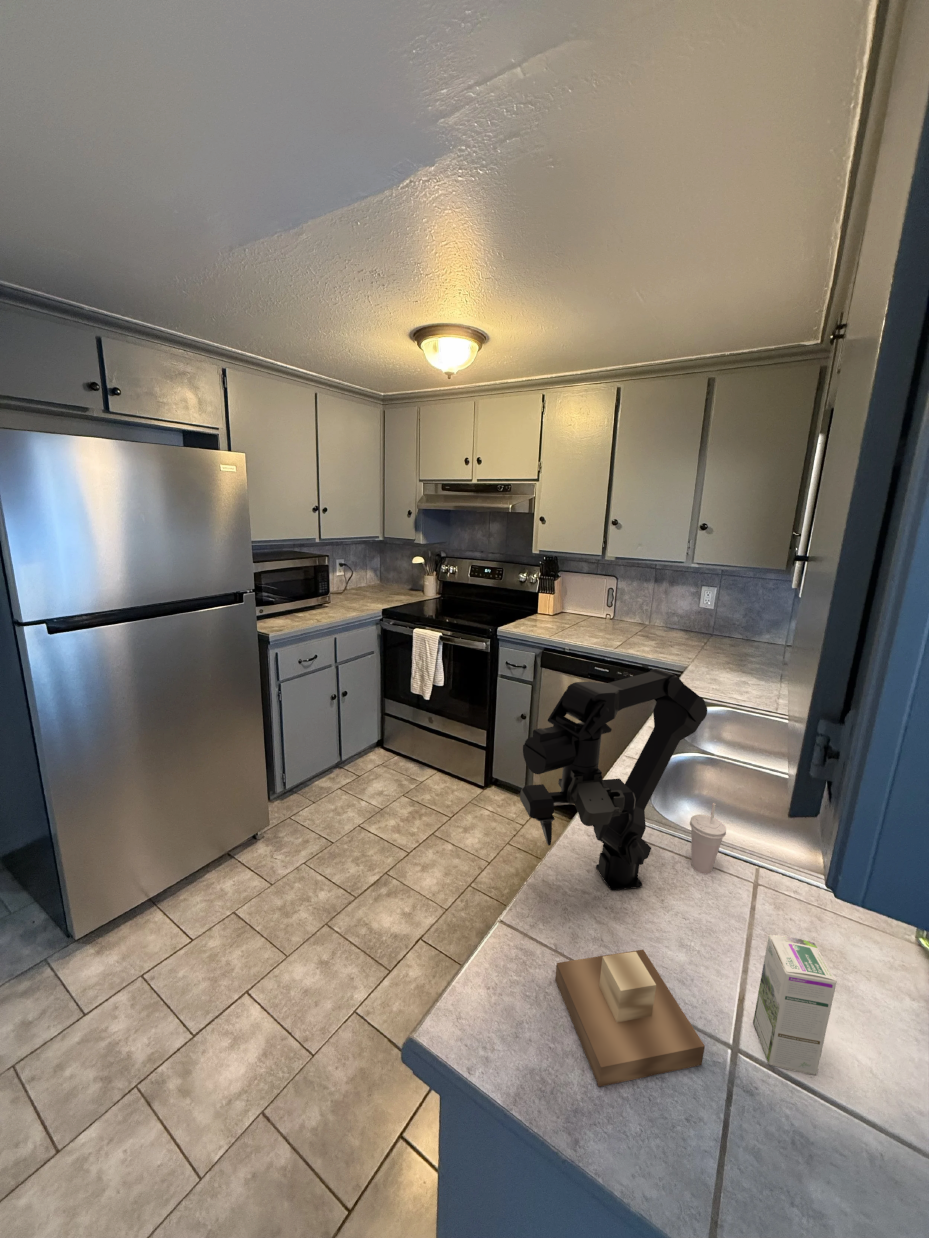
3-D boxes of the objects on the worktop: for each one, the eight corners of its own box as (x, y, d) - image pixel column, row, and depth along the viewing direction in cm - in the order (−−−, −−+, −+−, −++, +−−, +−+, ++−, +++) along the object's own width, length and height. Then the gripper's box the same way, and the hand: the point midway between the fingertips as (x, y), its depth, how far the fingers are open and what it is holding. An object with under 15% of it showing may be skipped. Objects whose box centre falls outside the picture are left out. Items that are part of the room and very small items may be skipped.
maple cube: (631, 980, 69) (635, 951, 68) (651, 1015, 64) (656, 984, 63) (599, 986, 68) (602, 956, 67) (616, 1022, 63) (620, 990, 62)
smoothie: (725, 879, 93) (736, 814, 91) (692, 878, 94) (702, 813, 91) (709, 856, 100) (719, 795, 97) (678, 855, 100) (687, 793, 97)
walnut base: (641, 965, 75) (643, 949, 74) (701, 1064, 61) (704, 1045, 61) (555, 979, 72) (556, 962, 71) (598, 1086, 58) (601, 1067, 58)
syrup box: (818, 1077, 60) (841, 981, 57) (766, 1065, 61) (786, 970, 58) (797, 1031, 66) (817, 940, 63) (750, 1020, 67) (767, 931, 64)
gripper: (545, 789, 72) (538, 881, 75) (659, 780, 75) (647, 868, 78) (522, 753, 82) (516, 835, 85) (623, 747, 86) (614, 825, 89)
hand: (573, 841), depth 84 cm, fingers open, 9 cm apart
